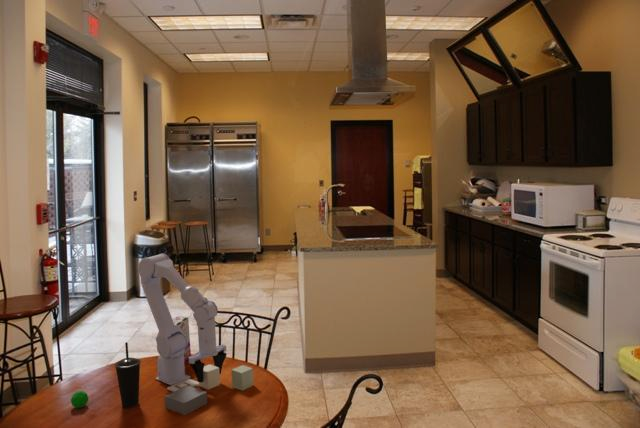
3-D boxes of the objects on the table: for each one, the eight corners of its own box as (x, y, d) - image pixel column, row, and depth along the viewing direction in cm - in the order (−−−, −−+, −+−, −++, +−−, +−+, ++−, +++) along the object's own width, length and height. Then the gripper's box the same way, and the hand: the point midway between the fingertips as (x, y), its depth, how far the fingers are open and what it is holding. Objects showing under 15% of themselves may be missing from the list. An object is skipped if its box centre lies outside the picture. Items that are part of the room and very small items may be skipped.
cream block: (198, 386, 175) (197, 368, 174) (210, 381, 178) (209, 364, 178) (208, 389, 171) (207, 372, 171) (220, 384, 175) (219, 367, 175)
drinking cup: (118, 412, 157) (114, 348, 155) (116, 402, 164) (111, 341, 162) (145, 406, 160) (141, 344, 158) (141, 397, 167) (137, 337, 165)
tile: (167, 389, 172) (167, 387, 172) (189, 380, 179) (189, 378, 179) (178, 394, 169) (178, 391, 169) (200, 384, 176) (200, 382, 176)
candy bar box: (179, 356, 202) (177, 315, 201) (191, 357, 201) (189, 316, 200) (165, 367, 192) (163, 324, 190) (178, 368, 191) (175, 325, 189)
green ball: (71, 405, 163) (70, 390, 162) (88, 401, 165) (87, 387, 164) (71, 411, 158) (70, 396, 158) (88, 408, 160) (87, 393, 160)
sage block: (232, 387, 173) (231, 369, 172) (243, 382, 177) (242, 365, 176) (242, 390, 170) (241, 373, 169) (253, 385, 174) (252, 368, 173)
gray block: (165, 408, 159) (164, 396, 159) (188, 397, 167) (187, 385, 166) (184, 416, 154) (184, 403, 154) (207, 404, 161) (206, 392, 161)
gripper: (197, 346, 165) (199, 387, 167) (231, 334, 177) (233, 373, 178) (183, 342, 170) (186, 382, 171) (217, 331, 181) (219, 368, 182)
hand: (209, 377), depth 175 cm, fingers open, 7 cm apart
